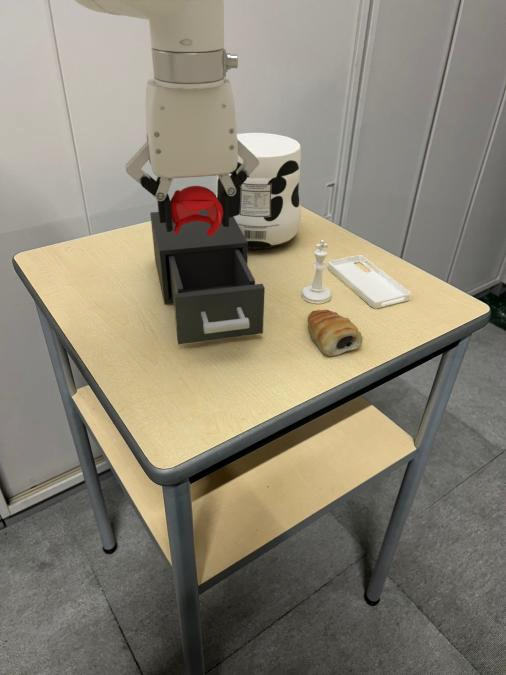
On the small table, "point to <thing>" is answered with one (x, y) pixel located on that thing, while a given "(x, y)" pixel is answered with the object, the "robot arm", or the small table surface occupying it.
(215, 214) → the red rounded lump
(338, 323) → the pastry
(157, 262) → the cabinet
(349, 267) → the phone case
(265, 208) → the milk container
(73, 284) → the small table surface
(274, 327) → the small table surface
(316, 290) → the chess piece
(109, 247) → the small table surface
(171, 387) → the small table surface
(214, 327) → the drawer
